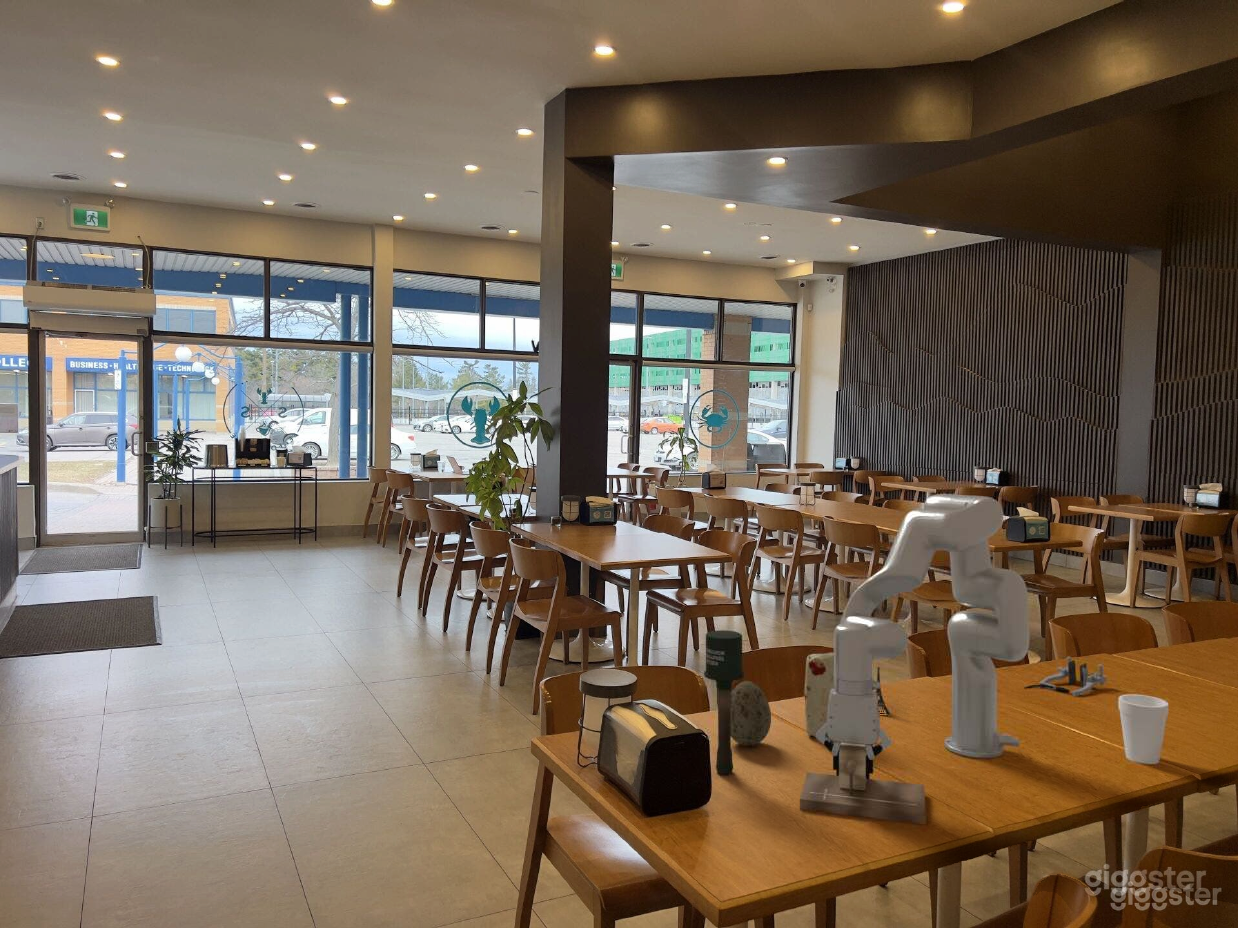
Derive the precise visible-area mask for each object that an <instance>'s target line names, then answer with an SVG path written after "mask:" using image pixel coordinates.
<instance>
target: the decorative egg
mask: <svg viewBox="0 0 1238 928" xmlns="http://www.w3.org/2000/svg"><path fill="white" fill-rule="evenodd" d="M730 710H731V739H732V740H734V742H736V743H738V744H739V745H741V746H745V747H753V746H756V745H758V744H760V743H761V742H763V740H764V739H765V738H766V737H767V735H768V733H770V729H771V726H772V725H771V724H772V713H771V707H770V704H769V701H768V699H767V697H766V695H765V693H764V692H763V691H762V689H761V688H760V687H759V686H758V685H757V684H756V683H754V682H752V681H751V680H750V681H748V680H745V681H742V682H740V683H738V684H737V685H736V686H735V687H734V688H733V689H732V704H731V709H730Z"/></svg>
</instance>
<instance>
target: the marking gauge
mask: <svg viewBox="0 0 1238 928" xmlns="http://www.w3.org/2000/svg"><path fill="white" fill-rule="evenodd" d="M839 750H840V751H839V788H846V789H850V795H853V789H855V790H864V791H865V788H866V779H867V778H866V755H867V751H866V748H865V745H863V744H852V743H842V742H841V744H840V748H839Z"/></svg>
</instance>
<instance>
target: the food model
mask: <svg viewBox="0 0 1238 928" xmlns="http://www.w3.org/2000/svg"><path fill="white" fill-rule="evenodd" d="M805 661H806V662H805V663H806V664H805V679H804V693H803V694H804V713H805V728H806V734H807V735H808V736H813V737H816V733H817V732H818V731H819V730H820V729H821V728H822V726H823V725H824V724H825V723H826V722H827V715H828V702H829V695H830V691H831V689H833V688H834V651H833V652H826V653H811V654H808V655H807V657H806V660H805ZM825 736H826V737H828V736H827V733H826V734H825Z"/></svg>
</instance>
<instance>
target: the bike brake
mask: <svg viewBox="0 0 1238 928" xmlns="http://www.w3.org/2000/svg"><path fill="white" fill-rule="evenodd" d="M1066 665H1067V666H1066V667H1064V666H1057V668H1056V669H1057V671H1060V672H1058V673H1056V674H1052V675H1049V676H1047V677H1044V678H1043V679H1042V680H1041V681H1039V684H1032V685H1027V686H1025V687H1023V689H1024V690H1027V689H1031V688H1037V687H1040V688H1043V689H1048V690H1051V691H1055V690H1056V691H1057V692H1059V693H1066V694H1070V693H1072V695H1073V696H1075V697H1079V696H1084V694H1085V693H1088V692H1090V691H1091V689H1093V688H1094V687H1096V686H1097V685H1098V684H1099V686H1104V685H1105V683H1106V682H1107V680H1108V678H1107V675H1104V670H1103V669H1104V668H1103V664H1098V665H1097V667H1098V673H1096V672H1094V673H1092V674H1091V673H1088V664H1087V662H1085V663H1082V664H1081V665H1079V680H1080V681H1079V682H1080V687H1081V688H1079V689H1074V690H1072V691H1071V690H1070V689H1068V688H1065V687H1061V686H1056V684H1051V683H1050V682H1054V681H1059V680H1063V679H1065V678H1067V677H1068V684H1069V685H1073V684H1076V683H1077V672H1076V662H1075V659H1074V660H1072V657H1071V656H1066Z"/></svg>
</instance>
